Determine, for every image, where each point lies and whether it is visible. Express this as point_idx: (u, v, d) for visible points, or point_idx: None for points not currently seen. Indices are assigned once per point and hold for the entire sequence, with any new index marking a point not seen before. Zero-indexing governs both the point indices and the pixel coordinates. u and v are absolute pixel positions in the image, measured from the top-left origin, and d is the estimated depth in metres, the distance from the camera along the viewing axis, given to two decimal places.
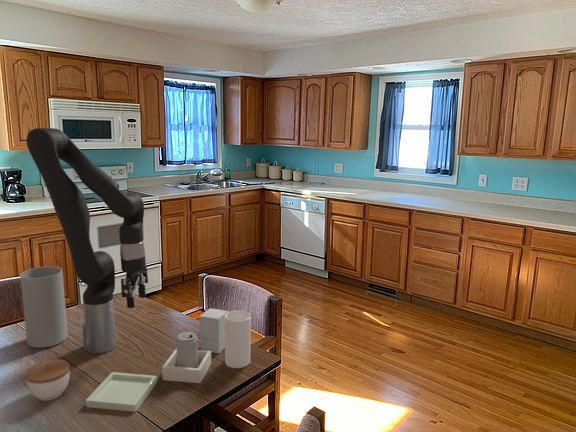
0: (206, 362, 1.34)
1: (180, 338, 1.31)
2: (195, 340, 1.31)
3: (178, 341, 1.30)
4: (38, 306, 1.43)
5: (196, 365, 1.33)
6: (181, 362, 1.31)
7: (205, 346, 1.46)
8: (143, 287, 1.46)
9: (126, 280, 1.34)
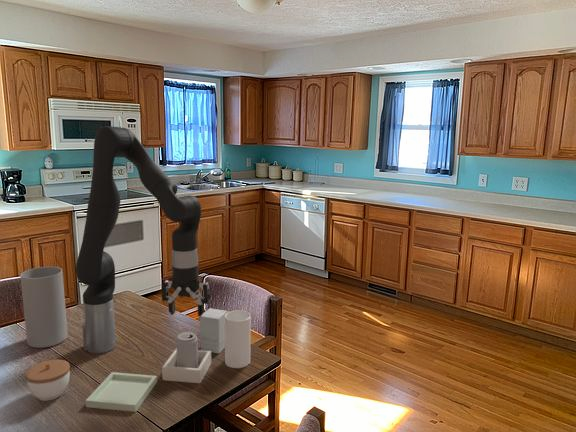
0: (206, 362, 1.34)
1: (180, 338, 1.31)
2: (195, 340, 1.31)
3: (178, 341, 1.30)
4: (38, 306, 1.43)
5: (196, 365, 1.33)
6: (181, 362, 1.31)
7: (205, 346, 1.46)
8: (173, 301, 1.31)
9: (208, 283, 1.29)
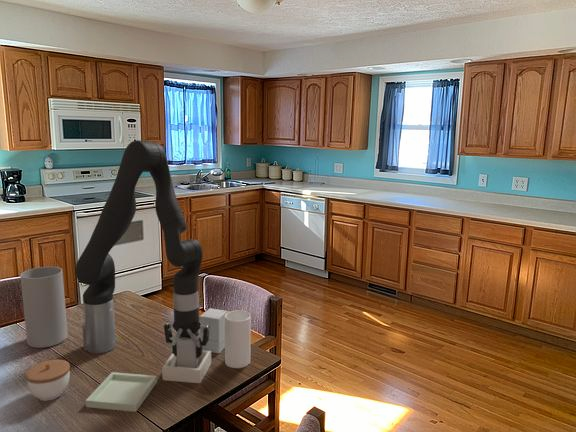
0: (206, 362, 1.34)
1: (180, 338, 1.31)
2: None
3: (178, 341, 1.30)
4: (38, 306, 1.43)
5: (196, 365, 1.33)
6: (181, 362, 1.31)
7: (205, 346, 1.46)
8: None
9: (208, 326, 1.31)
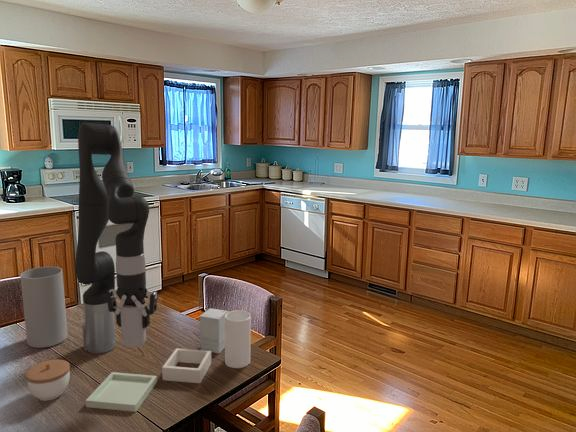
0: (206, 362, 1.34)
1: (124, 306, 1.18)
2: None
3: (122, 309, 1.18)
4: (38, 306, 1.43)
5: (143, 336, 1.20)
6: (125, 333, 1.18)
7: (205, 346, 1.46)
8: None
9: (156, 293, 1.19)
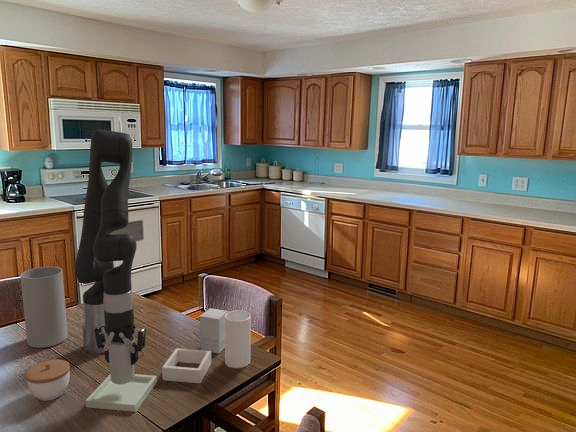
0: (206, 362, 1.34)
1: (112, 343, 1.18)
2: None
3: (110, 346, 1.17)
4: (38, 306, 1.43)
5: (131, 373, 1.20)
6: (113, 370, 1.18)
7: (205, 346, 1.46)
8: None
9: (144, 330, 1.18)
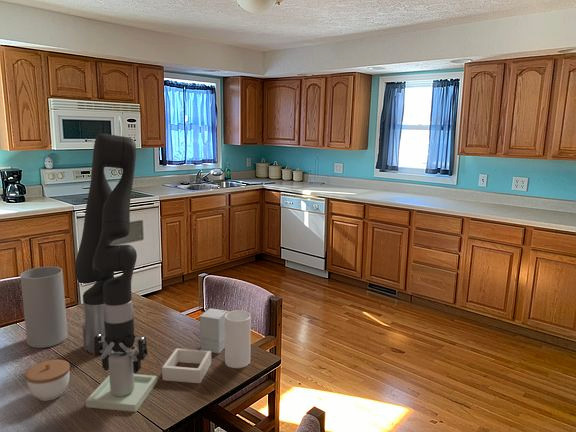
0: (206, 362, 1.34)
1: (112, 355, 1.18)
2: (129, 357, 1.19)
3: (110, 359, 1.18)
4: (38, 306, 1.43)
5: (131, 385, 1.20)
6: (113, 382, 1.18)
7: (205, 346, 1.46)
8: (108, 355, 1.21)
9: (144, 338, 1.19)
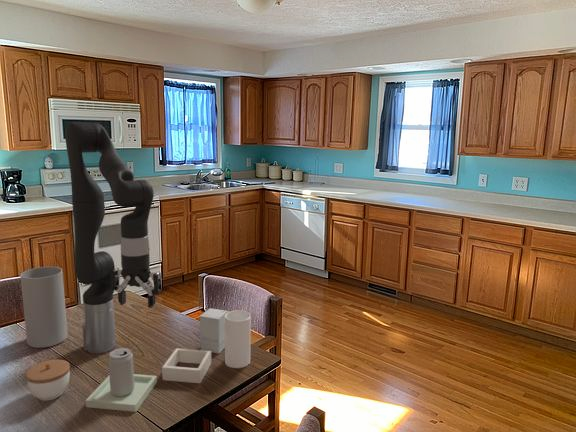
0: (206, 362, 1.34)
1: (112, 355, 1.18)
2: (129, 357, 1.19)
3: (110, 359, 1.18)
4: (38, 306, 1.43)
5: (131, 385, 1.20)
6: (113, 382, 1.18)
7: (205, 346, 1.46)
8: None
9: (159, 273, 1.22)
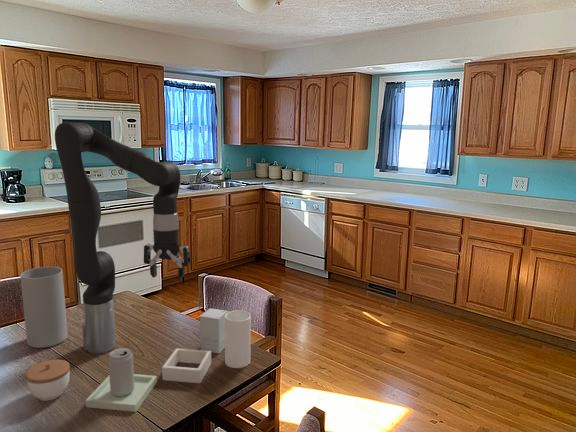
0: (206, 362, 1.34)
1: (112, 355, 1.18)
2: (129, 357, 1.19)
3: (110, 359, 1.18)
4: (38, 306, 1.43)
5: (131, 385, 1.20)
6: (113, 382, 1.18)
7: (205, 346, 1.46)
8: (155, 264, 1.36)
9: (188, 247, 1.34)
